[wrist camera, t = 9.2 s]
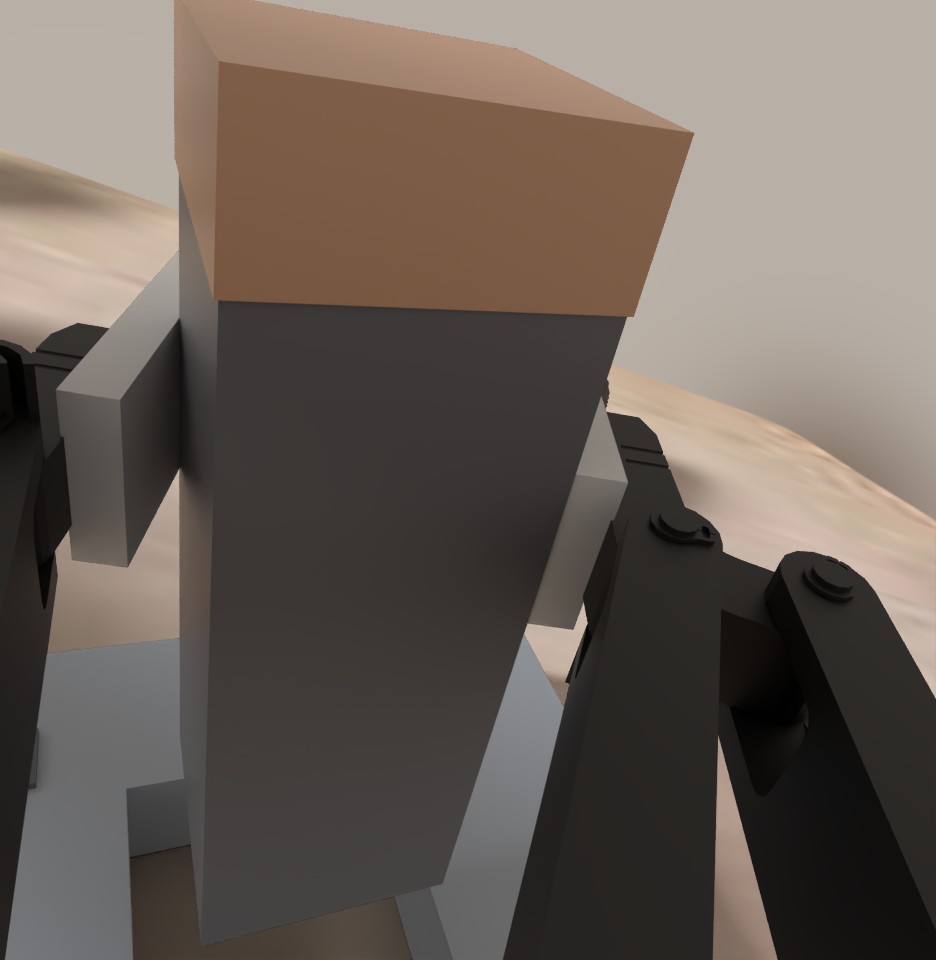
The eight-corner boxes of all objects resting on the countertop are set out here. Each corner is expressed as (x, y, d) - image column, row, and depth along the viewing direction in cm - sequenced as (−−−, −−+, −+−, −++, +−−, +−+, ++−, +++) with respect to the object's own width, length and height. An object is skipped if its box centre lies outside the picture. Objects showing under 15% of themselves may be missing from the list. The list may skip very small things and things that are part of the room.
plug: (198, 950, 14) (219, 61, 6) (177, 734, 17) (174, -14, 10) (445, 885, 16) (694, 132, 8) (382, 701, 19) (516, 48, 12)
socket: (-308, 1740, 11) (-403, 1753, 9) (-101, 745, 23) (-124, 667, 21) (750, 1204, 18) (812, 1153, 16) (487, 661, 30) (507, 597, 28)
